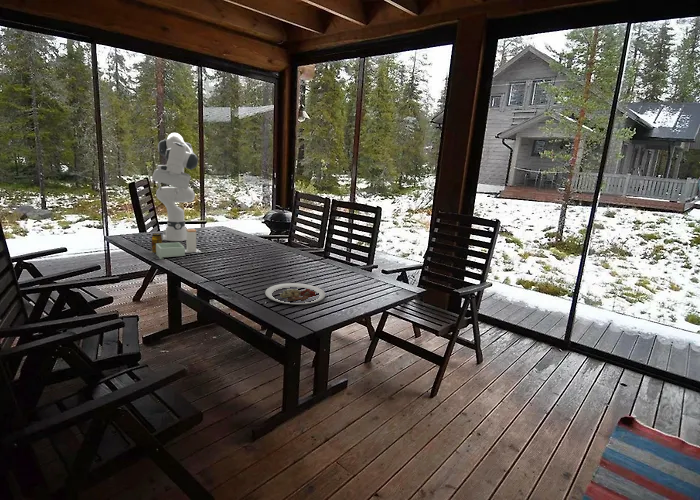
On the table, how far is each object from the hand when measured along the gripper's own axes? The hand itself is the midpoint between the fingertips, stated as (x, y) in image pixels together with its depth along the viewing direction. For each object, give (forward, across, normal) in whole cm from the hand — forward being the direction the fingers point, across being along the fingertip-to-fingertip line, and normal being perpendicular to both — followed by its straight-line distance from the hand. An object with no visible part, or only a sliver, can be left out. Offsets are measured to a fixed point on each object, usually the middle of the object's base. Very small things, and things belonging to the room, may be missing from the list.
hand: (168, 192), depth 233 cm
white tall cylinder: (+34, -24, -10) cm, 43 cm away
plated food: (+31, -52, +88) cm, 107 cm away
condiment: (+41, -6, -18) cm, 45 cm away
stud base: (+36, -24, -10) cm, 45 cm away
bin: (+39, -11, -5) cm, 41 cm away
